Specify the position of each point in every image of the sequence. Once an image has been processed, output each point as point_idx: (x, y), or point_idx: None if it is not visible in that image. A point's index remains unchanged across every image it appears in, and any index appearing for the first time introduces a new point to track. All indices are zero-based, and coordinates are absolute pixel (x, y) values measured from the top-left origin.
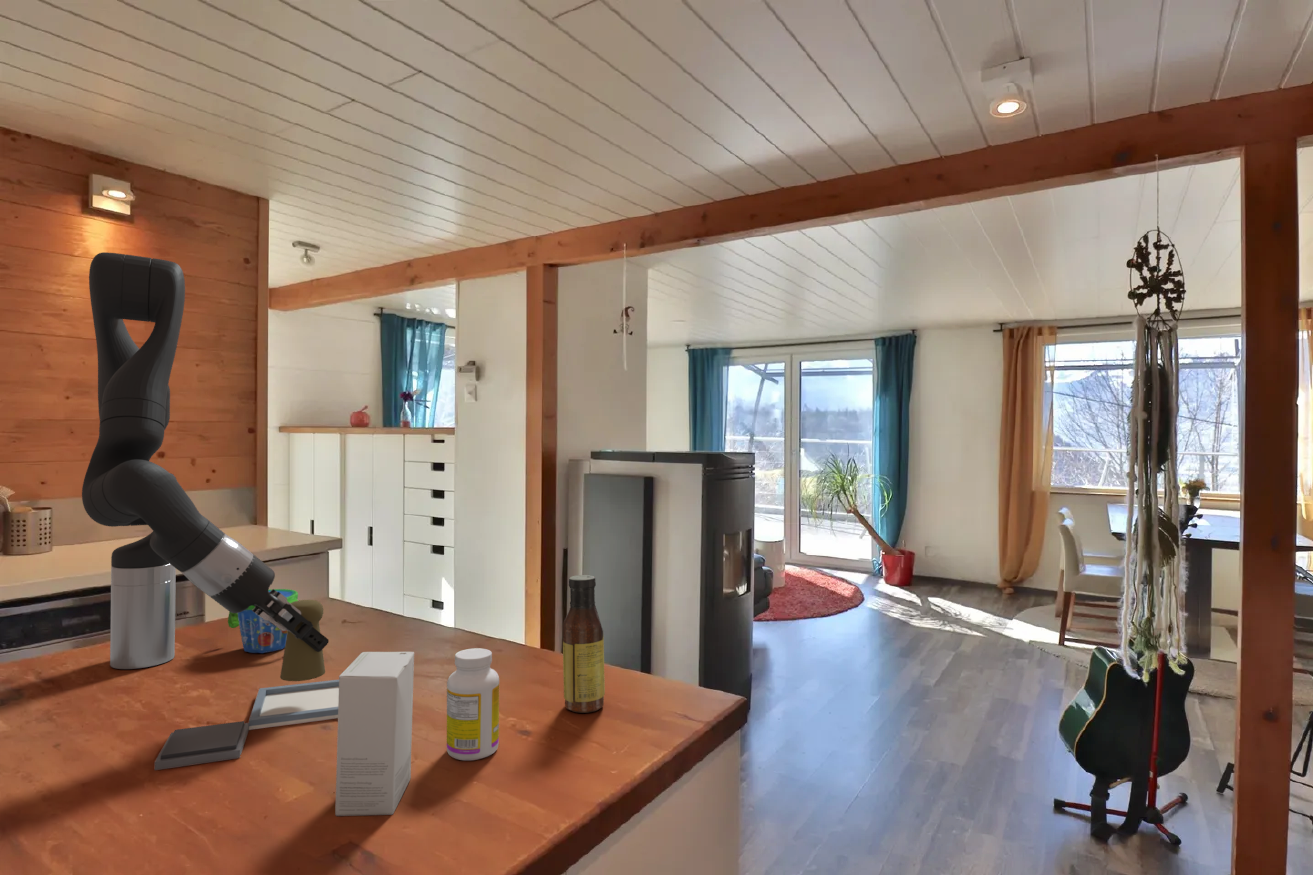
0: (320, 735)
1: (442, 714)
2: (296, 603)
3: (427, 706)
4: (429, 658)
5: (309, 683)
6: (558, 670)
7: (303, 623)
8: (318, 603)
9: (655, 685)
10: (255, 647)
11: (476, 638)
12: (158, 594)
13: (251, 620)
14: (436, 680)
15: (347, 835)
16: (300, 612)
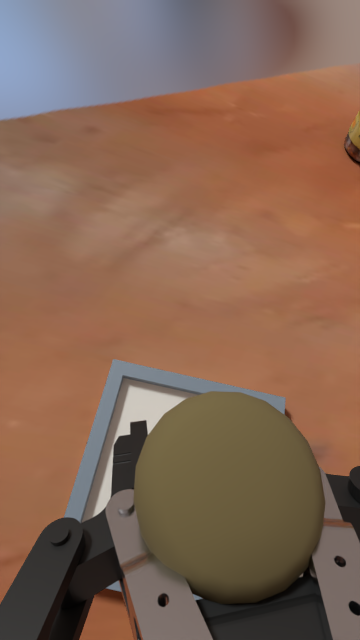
0: (348, 471)
1: (327, 280)
2: (273, 544)
3: (286, 287)
4: (53, 212)
5: (91, 445)
6: (227, 118)
7: (339, 506)
8: (269, 412)
9: (328, 81)
10: None
11: (2, 128)
12: None
13: None
14: (175, 240)
15: None
16: (350, 526)
